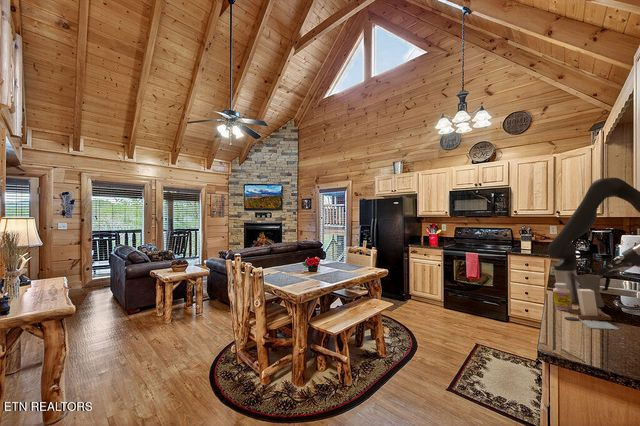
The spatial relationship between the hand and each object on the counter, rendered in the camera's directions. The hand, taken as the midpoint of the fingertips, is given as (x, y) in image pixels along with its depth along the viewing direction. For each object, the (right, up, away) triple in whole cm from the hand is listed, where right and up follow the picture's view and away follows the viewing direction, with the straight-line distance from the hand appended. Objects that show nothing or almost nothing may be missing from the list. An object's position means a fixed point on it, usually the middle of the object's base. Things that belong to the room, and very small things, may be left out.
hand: (602, 274), depth 125 cm
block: (-3, -20, +3) cm, 21 cm away
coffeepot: (+15, -20, +18) cm, 31 cm away
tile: (-11, -20, -9) cm, 24 cm away
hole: (-14, -21, +1) cm, 25 cm away
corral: (-3, -20, +3) cm, 21 cm away
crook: (+4, -20, +11) cm, 23 cm away
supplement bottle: (-4, -22, +15) cm, 27 cm away
